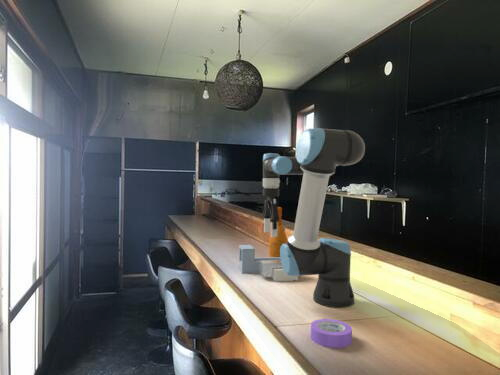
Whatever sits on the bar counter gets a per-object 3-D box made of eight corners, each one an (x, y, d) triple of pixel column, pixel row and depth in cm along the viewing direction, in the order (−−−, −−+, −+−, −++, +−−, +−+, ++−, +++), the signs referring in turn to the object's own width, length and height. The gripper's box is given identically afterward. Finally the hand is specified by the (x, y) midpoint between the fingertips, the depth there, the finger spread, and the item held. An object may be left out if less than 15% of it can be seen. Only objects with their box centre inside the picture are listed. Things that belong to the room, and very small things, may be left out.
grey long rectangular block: (297, 271, 176) (297, 259, 176) (300, 274, 171) (301, 262, 171) (259, 272, 173) (259, 260, 173) (262, 275, 168) (262, 263, 167)
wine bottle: (286, 264, 197) (287, 207, 196) (267, 263, 199) (268, 207, 198) (288, 260, 206) (289, 206, 205) (270, 259, 208) (271, 205, 207)
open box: (286, 271, 183) (287, 248, 182) (242, 273, 179) (242, 249, 178) (281, 266, 193) (281, 244, 192) (238, 267, 188) (239, 245, 188)
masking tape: (345, 330, 115) (345, 318, 114) (357, 348, 103) (357, 334, 103) (307, 330, 114) (307, 318, 114) (314, 348, 103) (315, 334, 102)
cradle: (298, 280, 168) (298, 269, 167) (274, 281, 166) (274, 270, 165) (291, 274, 178) (291, 263, 178) (268, 274, 176) (268, 264, 176)
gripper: (286, 188, 158) (285, 238, 158) (272, 187, 182) (271, 230, 183) (269, 188, 156) (268, 238, 157) (257, 187, 181) (256, 230, 181)
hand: (270, 234), depth 170 cm, fingers open, 13 cm apart
